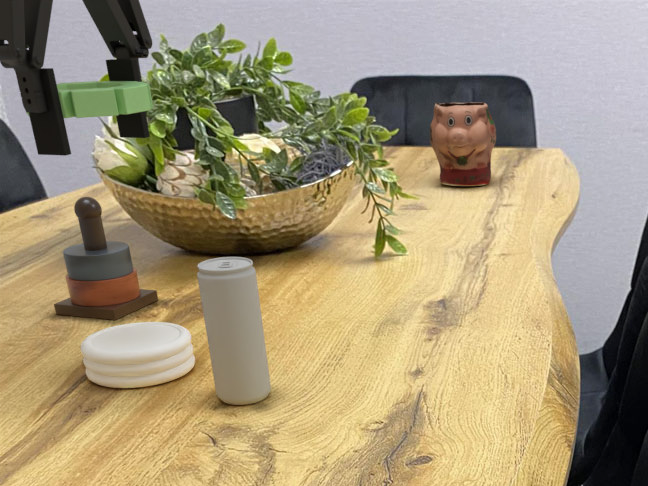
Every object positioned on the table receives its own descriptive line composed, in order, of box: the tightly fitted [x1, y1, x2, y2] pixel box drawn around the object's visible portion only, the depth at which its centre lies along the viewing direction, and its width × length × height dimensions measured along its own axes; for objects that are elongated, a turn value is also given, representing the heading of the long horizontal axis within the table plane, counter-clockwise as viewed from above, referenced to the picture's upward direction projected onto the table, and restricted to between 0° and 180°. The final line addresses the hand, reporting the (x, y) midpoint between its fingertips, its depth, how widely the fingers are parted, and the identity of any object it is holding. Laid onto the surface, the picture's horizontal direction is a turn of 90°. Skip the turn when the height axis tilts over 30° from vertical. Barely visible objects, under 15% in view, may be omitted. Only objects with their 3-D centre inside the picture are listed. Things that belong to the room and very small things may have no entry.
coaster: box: [80, 321, 196, 389], centre depth 92 cm, size 10×10×4 cm
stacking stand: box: [53, 196, 159, 321], centre depth 109 cm, size 8×8×12 cm
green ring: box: [25, 80, 154, 119], centre depth 83 cm, size 10×10×2 cm
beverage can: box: [196, 256, 272, 406], centre depth 84 cm, size 5×5×12 cm
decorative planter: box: [429, 101, 497, 187], centre depth 177 cm, size 20×12×14 cm, turn 5°
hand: (97, 145), depth 84 cm, fingers closed on green ring, 10 cm apart
